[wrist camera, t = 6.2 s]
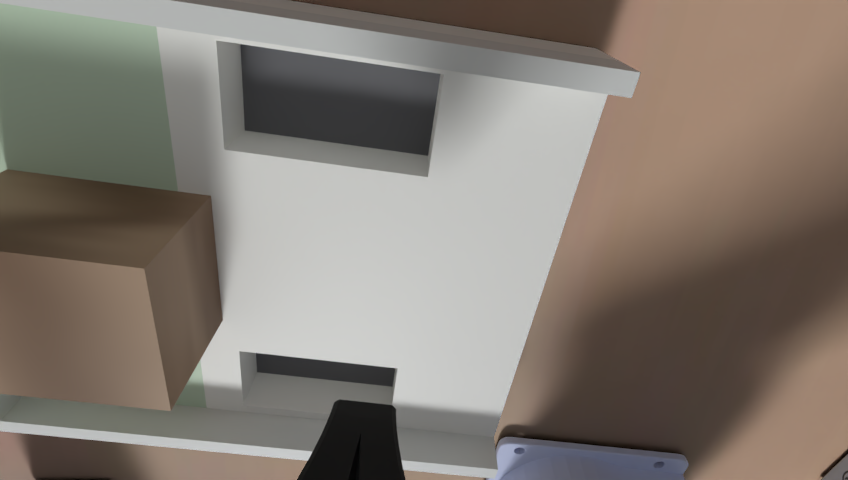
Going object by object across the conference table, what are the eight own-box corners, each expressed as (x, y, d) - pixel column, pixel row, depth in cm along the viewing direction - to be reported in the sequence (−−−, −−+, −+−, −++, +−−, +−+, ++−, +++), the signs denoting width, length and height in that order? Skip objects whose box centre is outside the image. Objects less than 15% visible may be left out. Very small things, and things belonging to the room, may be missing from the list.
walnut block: (211, 195, 15) (144, 268, 11) (222, 320, 17) (171, 411, 14) (6, 169, 14) (-127, 236, 11) (49, 300, 17) (-48, 388, 13)
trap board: (596, 48, 14) (640, 72, 11) (485, 408, 22) (494, 478, 19) (-98, -61, 13) (-255, -66, 10) (50, 362, 21) (-13, 430, 18)
